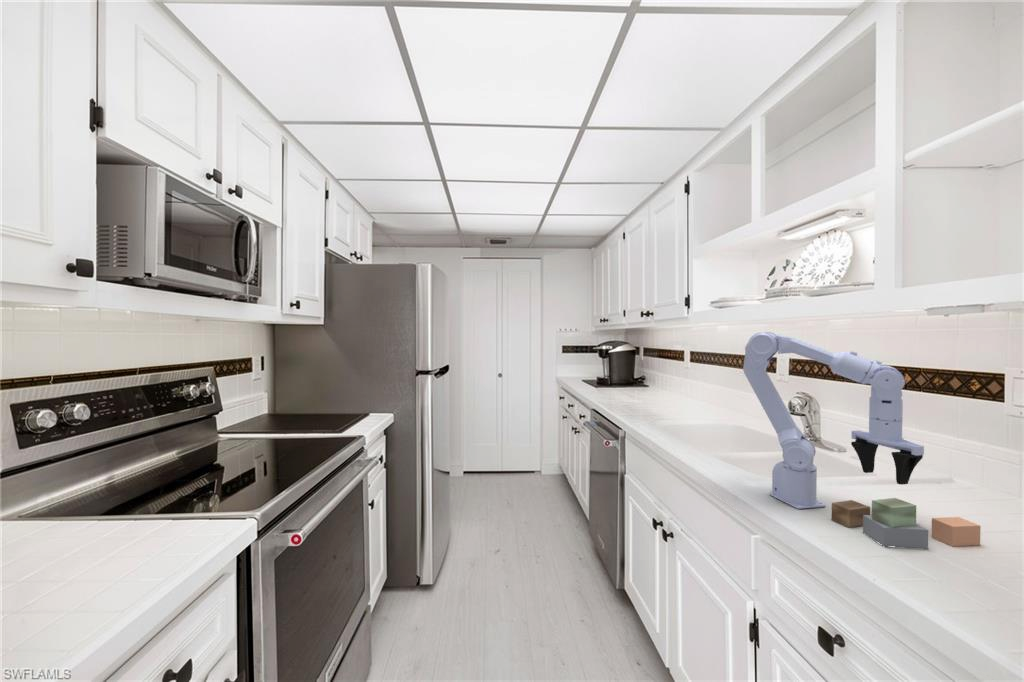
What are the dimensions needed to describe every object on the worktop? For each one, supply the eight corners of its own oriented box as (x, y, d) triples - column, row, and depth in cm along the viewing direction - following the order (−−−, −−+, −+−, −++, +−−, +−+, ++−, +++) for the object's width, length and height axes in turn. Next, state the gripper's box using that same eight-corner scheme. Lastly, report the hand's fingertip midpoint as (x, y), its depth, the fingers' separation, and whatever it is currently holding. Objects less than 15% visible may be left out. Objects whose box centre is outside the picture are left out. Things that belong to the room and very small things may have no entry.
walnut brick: (831, 520, 97) (831, 502, 97) (851, 517, 99) (851, 500, 99) (849, 528, 94) (849, 510, 93) (869, 524, 95) (870, 506, 95)
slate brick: (862, 533, 91) (863, 514, 91) (904, 535, 90) (904, 516, 90) (883, 547, 85) (883, 527, 85) (928, 549, 84) (928, 529, 84)
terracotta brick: (931, 536, 89) (931, 518, 89) (958, 535, 90) (958, 517, 90) (952, 546, 85) (952, 526, 85) (980, 545, 86) (980, 525, 86)
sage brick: (871, 519, 89) (871, 500, 89) (895, 516, 90) (895, 497, 90) (892, 527, 85) (892, 507, 85) (916, 524, 86) (916, 505, 86)
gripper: (936, 424, 91) (935, 488, 91) (868, 412, 105) (868, 466, 105) (908, 426, 89) (907, 490, 90) (844, 413, 104) (843, 468, 104)
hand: (884, 477), depth 97 cm, fingers open, 7 cm apart
